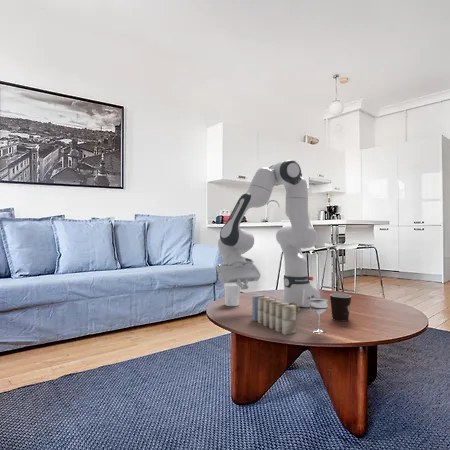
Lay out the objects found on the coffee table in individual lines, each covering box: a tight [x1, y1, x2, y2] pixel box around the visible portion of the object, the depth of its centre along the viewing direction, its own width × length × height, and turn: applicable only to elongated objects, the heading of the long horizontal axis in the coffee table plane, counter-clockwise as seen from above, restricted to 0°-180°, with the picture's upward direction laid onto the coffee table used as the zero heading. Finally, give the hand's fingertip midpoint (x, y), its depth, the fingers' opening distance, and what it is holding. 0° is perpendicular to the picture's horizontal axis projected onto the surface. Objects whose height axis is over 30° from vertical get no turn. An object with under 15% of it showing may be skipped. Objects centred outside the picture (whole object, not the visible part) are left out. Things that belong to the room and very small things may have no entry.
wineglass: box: [309, 297, 329, 333], centre depth 130 cm, size 7×7×12 cm
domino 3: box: [262, 298, 277, 327], centre depth 138 cm, size 5×2×10 cm, turn 118°
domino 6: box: [281, 305, 297, 335], centre depth 128 cm, size 5×2×10 cm, turn 118°
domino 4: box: [268, 300, 282, 330], centre depth 135 cm, size 5×2×10 cm, turn 118°
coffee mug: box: [329, 293, 352, 321], centre depth 148 cm, size 12×9×10 cm
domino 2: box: [257, 296, 271, 324], centre depth 142 cm, size 5×2×10 cm, turn 118°
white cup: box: [223, 282, 241, 307], centre depth 171 cm, size 8×8×10 cm
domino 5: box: [274, 303, 289, 332], centre depth 131 cm, size 5×2×10 cm, turn 118°
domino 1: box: [251, 294, 266, 322], centre depth 145 cm, size 5×2×10 cm, turn 118°
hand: (245, 288), depth 154 cm, fingers closed
